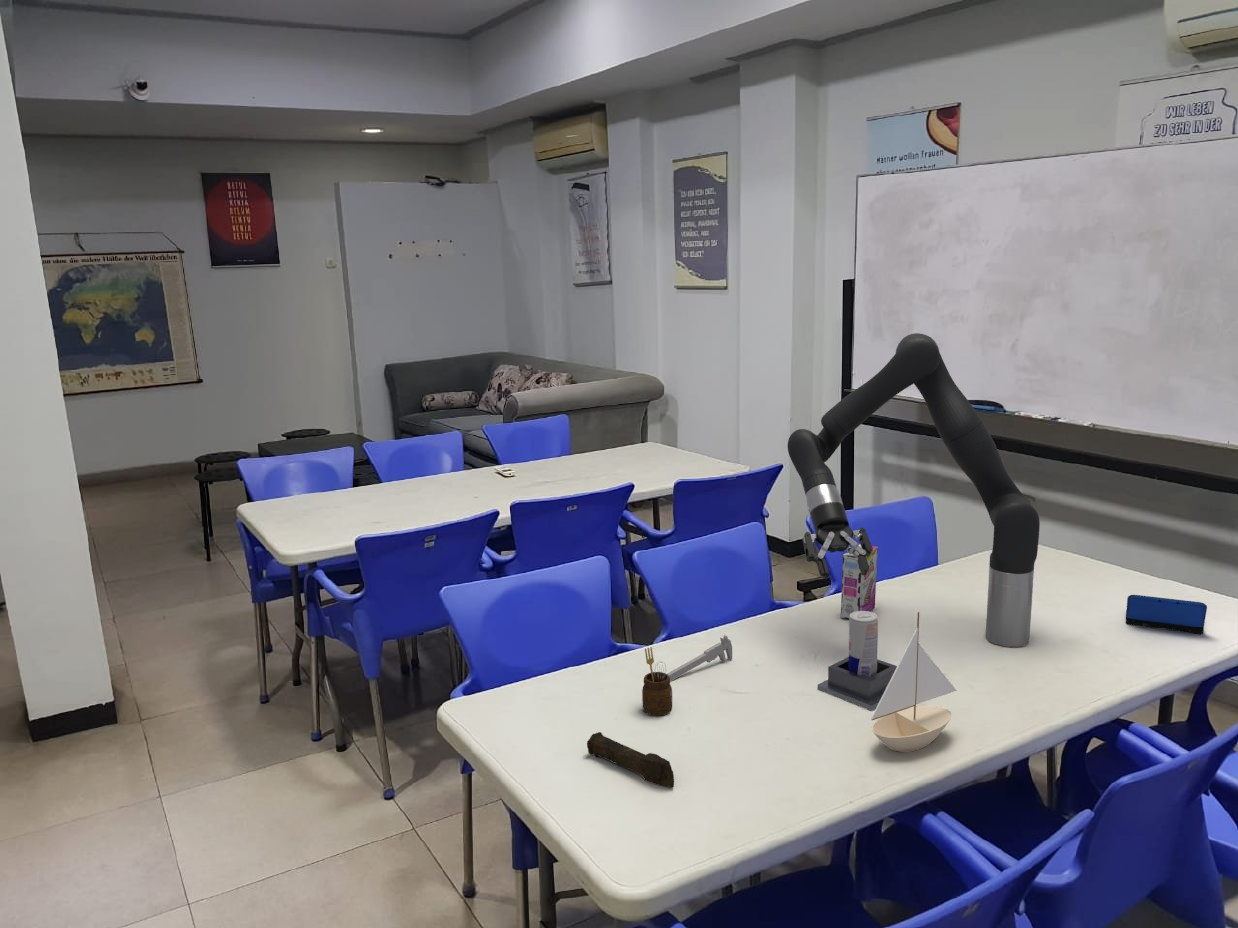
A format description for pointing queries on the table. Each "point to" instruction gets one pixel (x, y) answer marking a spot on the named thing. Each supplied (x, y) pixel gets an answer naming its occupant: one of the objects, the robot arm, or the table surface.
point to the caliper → (705, 657)
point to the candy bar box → (858, 585)
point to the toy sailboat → (912, 702)
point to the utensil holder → (656, 690)
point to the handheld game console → (1166, 613)
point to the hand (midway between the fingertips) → (845, 575)
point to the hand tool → (632, 760)
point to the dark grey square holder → (857, 683)
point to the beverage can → (863, 643)
